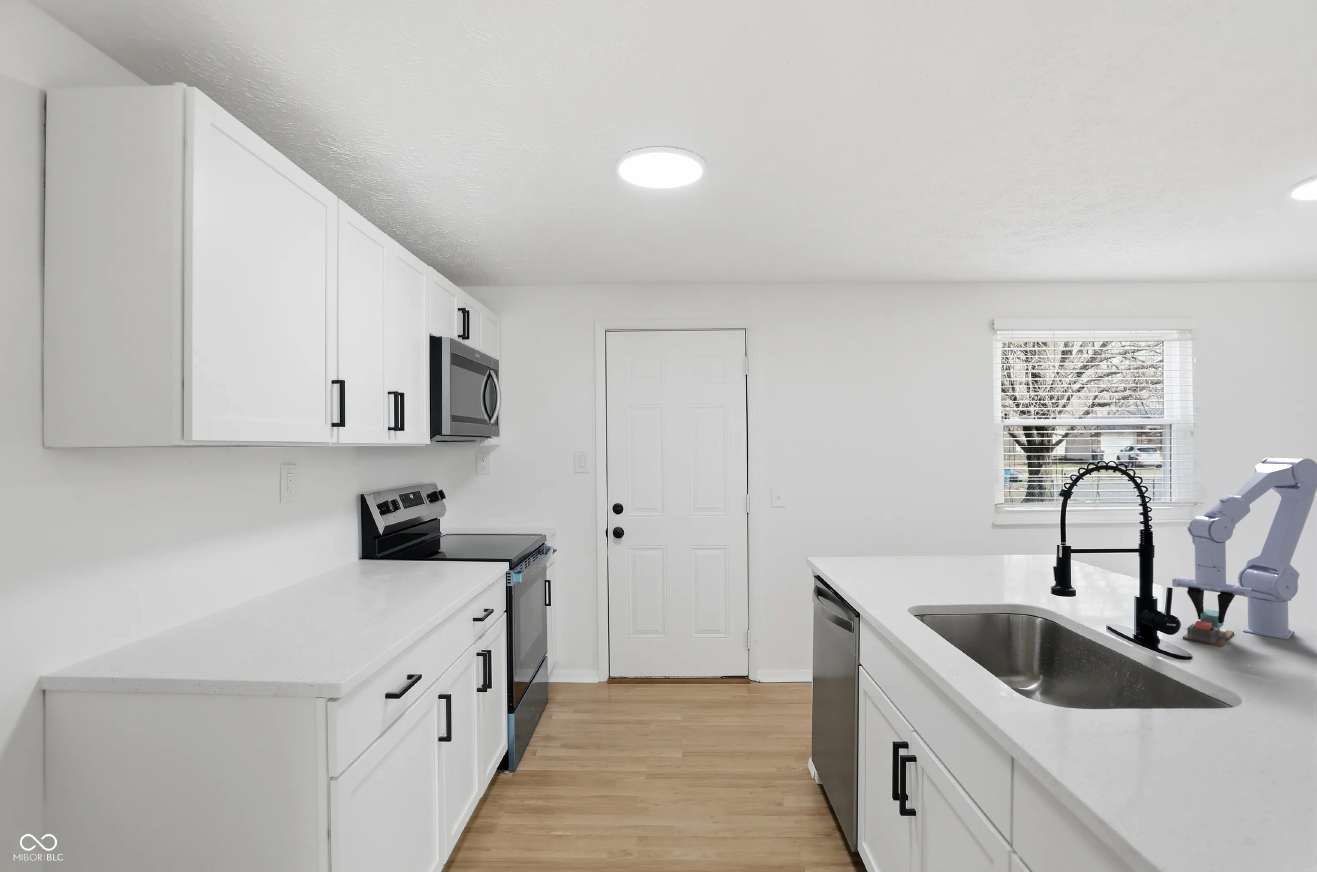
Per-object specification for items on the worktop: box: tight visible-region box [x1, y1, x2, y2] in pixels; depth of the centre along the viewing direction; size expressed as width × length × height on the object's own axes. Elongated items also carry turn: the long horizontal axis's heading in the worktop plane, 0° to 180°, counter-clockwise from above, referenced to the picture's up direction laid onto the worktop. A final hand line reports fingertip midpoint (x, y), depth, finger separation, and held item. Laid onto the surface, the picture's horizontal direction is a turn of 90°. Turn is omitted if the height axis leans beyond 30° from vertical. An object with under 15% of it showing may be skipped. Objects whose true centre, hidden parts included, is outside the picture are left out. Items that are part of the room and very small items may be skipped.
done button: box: [1194, 620, 1212, 631], centre depth 148 cm, size 3×3×2 cm
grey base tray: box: [1182, 623, 1235, 647], centre depth 151 cm, size 14×7×3 cm, turn 128°
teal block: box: [1200, 608, 1224, 629], centre depth 153 cm, size 8×3×3 cm, turn 128°
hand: (1210, 620), depth 153 cm, fingers closed on teal block, 3 cm apart
